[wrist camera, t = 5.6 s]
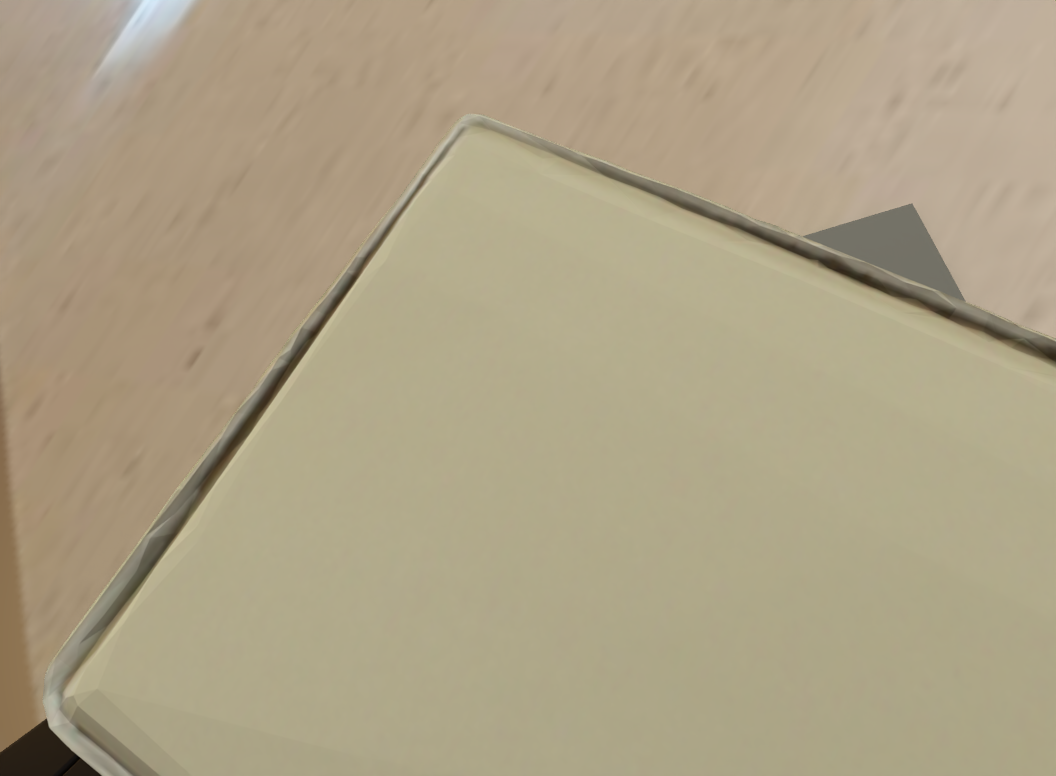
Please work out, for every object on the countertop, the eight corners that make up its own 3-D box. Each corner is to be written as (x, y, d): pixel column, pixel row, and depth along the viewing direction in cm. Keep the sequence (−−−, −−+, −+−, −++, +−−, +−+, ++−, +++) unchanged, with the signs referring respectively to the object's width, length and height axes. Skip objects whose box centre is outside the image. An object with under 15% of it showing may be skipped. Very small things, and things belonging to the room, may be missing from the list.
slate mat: (1233, 815, 18) (1248, 821, 17) (740, 953, 18) (743, 960, 17) (907, 209, 24) (911, 203, 23) (543, 319, 24) (542, 315, 24)
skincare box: (813, 595, 14) (1849, 636, 2) (724, 786, 13) (1690, 2266, 2) (558, 452, 16) (456, 56, 4) (463, 615, 15) (-31, 724, 3)
